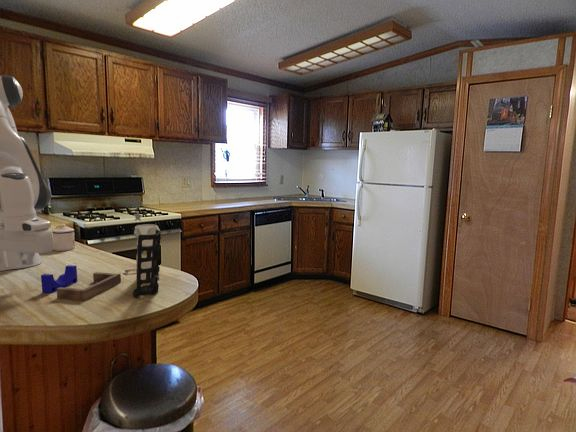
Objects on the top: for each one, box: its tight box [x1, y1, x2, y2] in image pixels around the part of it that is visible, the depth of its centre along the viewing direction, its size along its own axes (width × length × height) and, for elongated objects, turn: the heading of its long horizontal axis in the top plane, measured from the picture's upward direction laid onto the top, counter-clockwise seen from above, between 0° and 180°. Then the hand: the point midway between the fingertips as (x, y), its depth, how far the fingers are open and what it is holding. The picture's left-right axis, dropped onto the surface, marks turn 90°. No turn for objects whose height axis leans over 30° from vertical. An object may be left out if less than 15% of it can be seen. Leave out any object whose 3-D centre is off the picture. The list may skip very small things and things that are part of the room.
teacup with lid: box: [51, 223, 76, 252], centre depth 180 cm, size 12×9×12 cm
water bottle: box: [133, 211, 161, 282], centre depth 135 cm, size 8×9×25 cm
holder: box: [132, 229, 162, 299], centre depth 122 cm, size 11×8×20 cm
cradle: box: [56, 271, 122, 302], centre depth 125 cm, size 10×18×3 cm, turn 170°
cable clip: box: [40, 264, 78, 294], centre depth 127 cm, size 12×4×6 cm, turn 170°
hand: (27, 264), depth 126 cm, fingers closed
